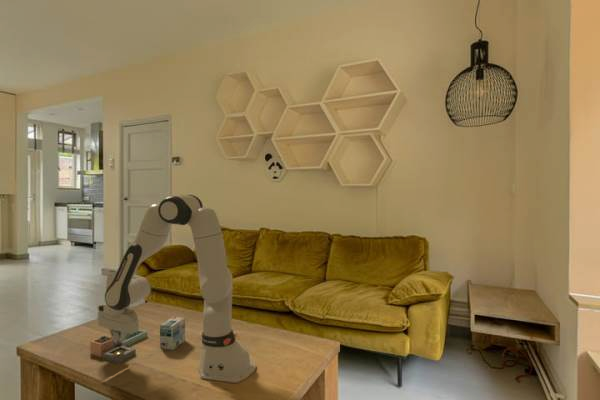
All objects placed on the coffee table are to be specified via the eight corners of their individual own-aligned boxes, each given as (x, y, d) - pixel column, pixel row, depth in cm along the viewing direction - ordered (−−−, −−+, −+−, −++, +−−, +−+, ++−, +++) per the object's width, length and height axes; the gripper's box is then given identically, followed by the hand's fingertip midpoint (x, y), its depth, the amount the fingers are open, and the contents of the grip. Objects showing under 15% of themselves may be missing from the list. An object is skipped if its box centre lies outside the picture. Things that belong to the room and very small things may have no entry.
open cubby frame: (116, 351, 145) (116, 338, 145) (101, 358, 139) (101, 344, 139) (105, 348, 148) (105, 335, 148) (90, 355, 141) (90, 341, 141)
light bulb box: (172, 350, 146) (172, 326, 146) (159, 349, 148) (159, 324, 148) (185, 340, 157) (185, 317, 157) (173, 338, 158) (173, 316, 158)
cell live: (124, 344, 140) (124, 329, 140) (117, 348, 137) (117, 332, 137) (118, 343, 141) (118, 327, 141) (111, 346, 138) (111, 330, 138)
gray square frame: (135, 356, 141) (135, 349, 141) (118, 365, 134) (118, 357, 134) (119, 351, 145) (119, 344, 145) (101, 360, 138) (101, 352, 138)
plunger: (127, 353, 141) (127, 351, 141) (117, 358, 136) (117, 356, 136) (119, 351, 142) (119, 349, 142) (110, 356, 138) (110, 354, 138)
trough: (147, 338, 159) (147, 331, 159) (121, 350, 146) (121, 343, 146) (135, 335, 162) (135, 328, 162) (108, 347, 149) (108, 340, 149)
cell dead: (109, 350, 144) (109, 336, 144) (102, 354, 141) (102, 339, 141) (104, 349, 145) (104, 334, 145) (96, 352, 142) (96, 337, 142)
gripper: (142, 308, 138) (142, 341, 138) (108, 301, 146) (108, 333, 146) (129, 313, 132) (129, 348, 132) (94, 305, 140) (94, 338, 140)
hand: (118, 340), depth 139 cm, fingers closed on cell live, 3 cm apart
